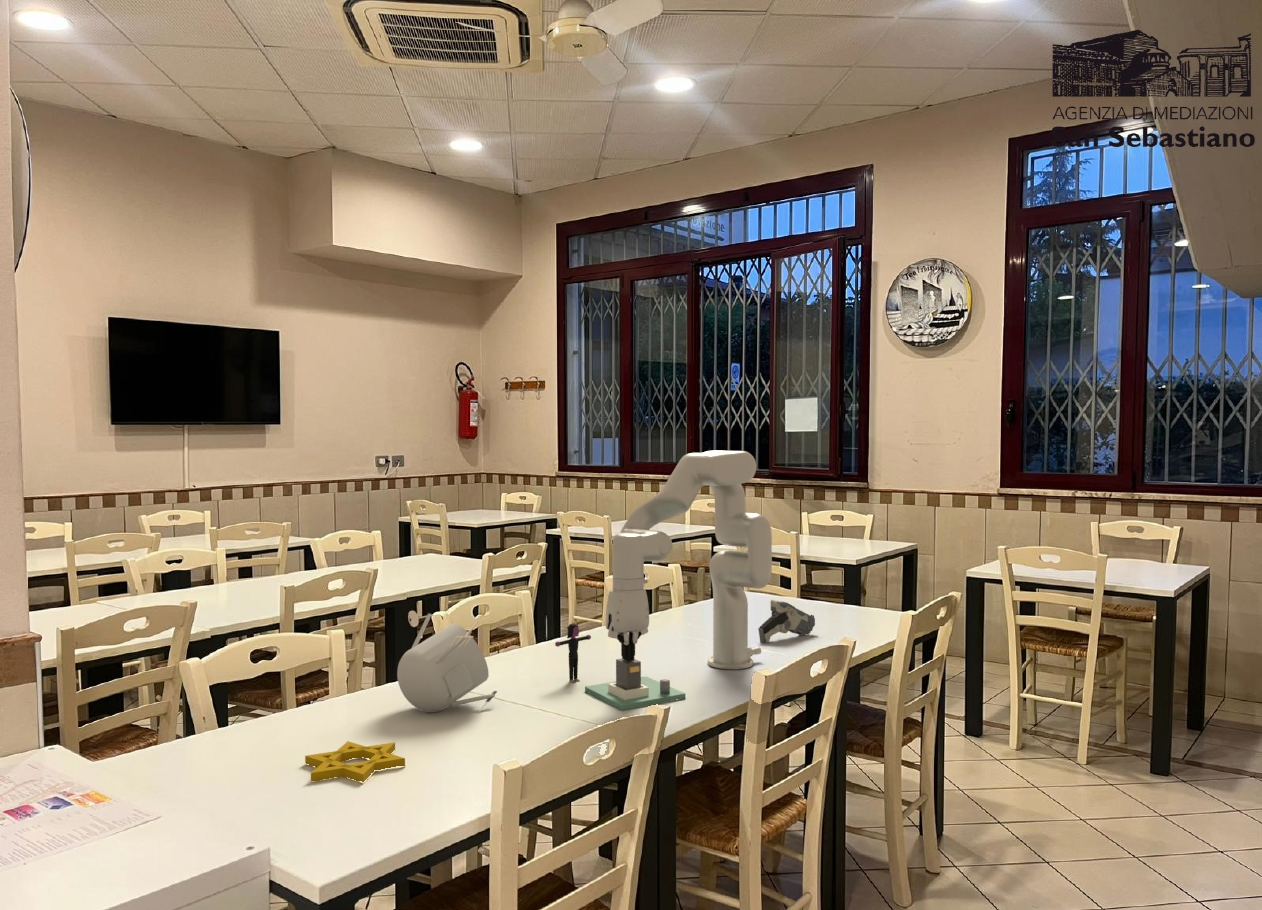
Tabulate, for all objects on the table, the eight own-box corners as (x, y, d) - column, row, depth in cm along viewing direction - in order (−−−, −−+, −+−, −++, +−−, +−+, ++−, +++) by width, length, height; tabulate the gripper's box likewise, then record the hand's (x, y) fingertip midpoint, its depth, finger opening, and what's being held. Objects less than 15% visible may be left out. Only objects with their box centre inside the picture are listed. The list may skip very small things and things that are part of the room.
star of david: (419, 753, 184) (419, 742, 184) (389, 786, 166) (389, 774, 166) (324, 751, 185) (323, 740, 185) (284, 784, 168) (284, 772, 168)
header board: (646, 680, 235) (646, 664, 235) (685, 698, 220) (685, 681, 220) (585, 691, 226) (584, 674, 226) (621, 710, 210) (621, 692, 210)
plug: (630, 689, 223) (630, 657, 223) (642, 695, 218) (642, 662, 218) (616, 691, 221) (616, 659, 220) (627, 697, 216) (627, 664, 216)
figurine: (560, 686, 230) (560, 628, 229) (551, 683, 232) (550, 625, 232) (595, 677, 238) (595, 620, 238) (585, 674, 241) (585, 618, 241)
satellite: (364, 637, 211) (414, 666, 192) (435, 595, 223) (490, 619, 204) (396, 716, 219) (448, 751, 200) (464, 672, 230) (519, 701, 211)
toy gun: (804, 662, 285) (819, 617, 289) (760, 641, 275) (776, 594, 278) (796, 659, 288) (811, 615, 292) (752, 638, 278) (768, 593, 281)
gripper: (646, 579, 226) (646, 652, 226) (593, 584, 218) (593, 660, 219) (662, 583, 219) (662, 659, 220) (609, 589, 212) (609, 667, 212)
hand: (628, 659), depth 219 cm, fingers closed
